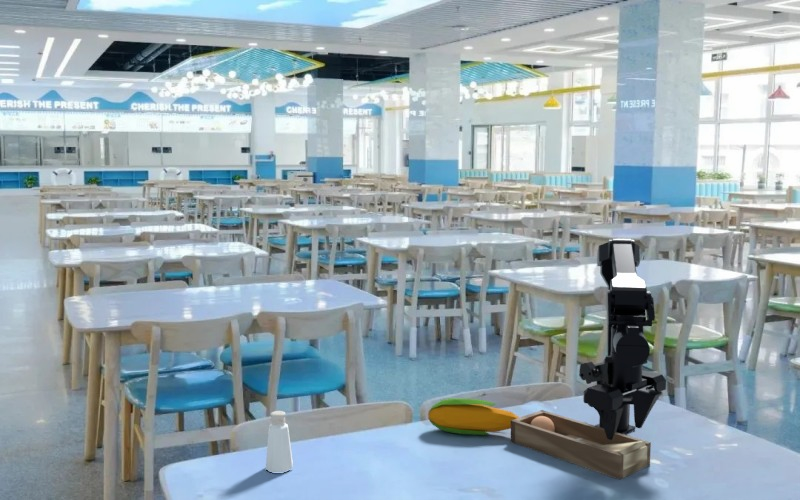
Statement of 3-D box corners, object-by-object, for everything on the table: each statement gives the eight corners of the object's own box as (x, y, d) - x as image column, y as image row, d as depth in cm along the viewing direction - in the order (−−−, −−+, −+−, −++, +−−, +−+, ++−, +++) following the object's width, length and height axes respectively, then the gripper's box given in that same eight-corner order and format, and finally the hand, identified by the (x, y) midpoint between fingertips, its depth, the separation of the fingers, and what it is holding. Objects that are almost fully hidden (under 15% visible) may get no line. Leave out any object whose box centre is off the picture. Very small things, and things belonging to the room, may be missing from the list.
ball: (555, 412, 169) (537, 415, 172) (540, 417, 165) (522, 420, 169) (562, 436, 168) (544, 438, 172) (546, 442, 165) (528, 444, 168)
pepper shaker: (298, 465, 157) (297, 409, 156) (285, 476, 152) (284, 418, 151) (273, 461, 159) (271, 406, 157) (259, 472, 154) (258, 415, 152)
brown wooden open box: (541, 430, 175) (542, 408, 175) (649, 465, 156) (650, 440, 155) (510, 441, 169) (510, 418, 168) (619, 479, 149) (620, 453, 149)
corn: (431, 390, 179) (524, 395, 174) (432, 423, 180) (524, 429, 176) (424, 402, 172) (521, 408, 167) (425, 436, 173) (521, 443, 169)
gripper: (618, 336, 164) (616, 412, 166) (560, 352, 151) (558, 434, 153) (668, 346, 155) (666, 426, 157) (611, 364, 143) (609, 450, 145)
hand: (624, 433), depth 154 cm, fingers open, 9 cm apart
